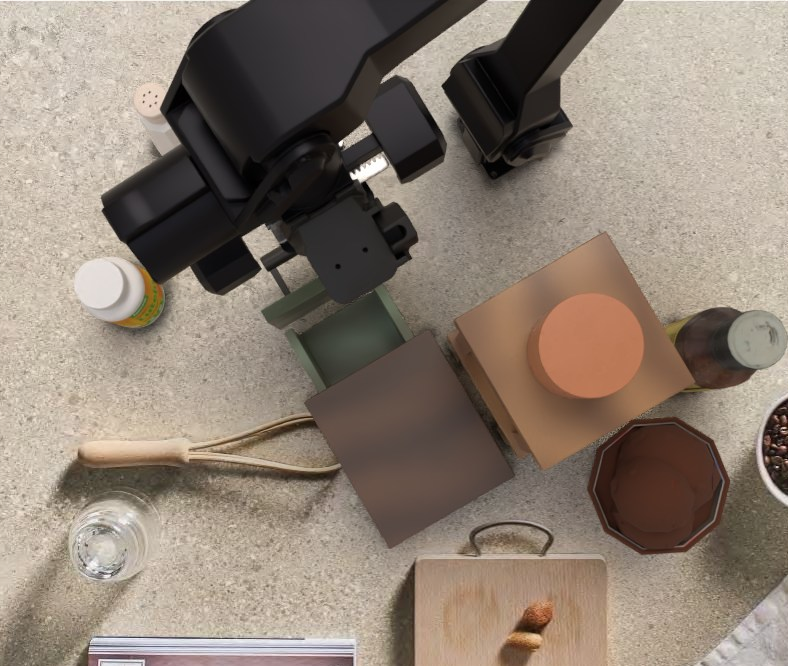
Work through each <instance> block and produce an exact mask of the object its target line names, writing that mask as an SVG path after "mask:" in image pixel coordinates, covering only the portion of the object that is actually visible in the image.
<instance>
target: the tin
mask: <svg viewBox="0 0 788 666" xmlns="http://www.w3.org/2000/svg"><path fill="white" fill-rule="evenodd" d="M643 354H644V337H643V332H642V329H641V326H640V324H639V322H638V320H637V318H636V317H635V315H634V314H633V312H632V311H631V310H630V309H629V308H628V307H627V306H626V305H624V304H623V303H622V302H620V301H619V300H617V299H615V298H613V297H611V296H608V295H605V294H600V293H582V294H578V295H574V296H572V297H569V298H567V299H565V300H564V301H562V302H561V303H559V304H558V305H556V306H555V307H553V308H552V309H550V310H549V311H547V312H546V313H545V314H544V315H542V316H541V317H540V318H539V320H538V321H537V322H536V323H535V325H534V326H533V328H532V330H531V332H530V335H529V338H528V343H527V358H528V363H529V366H530V369H531V371H532V373H533V375H534V377H535V378H536V380H537V381H538V382H539V383H540V384H541V385H542V386H543V387H544V388H545V389H547V390H548V391H550V392H551V393H553V394H555V395H557V396H560V397H564V398H569V399H587V398H600V397H605V396H608V395H611V394H613V393H615V392H617V391H619V390H620V389H622V388H623V387H625V386H626V385H627V384H628V383H629V382H630V381H631V380H632V379H633V377H634V376H635V374H636V373H637V371H638V369H639V367H640V365H641V362H642V359H643Z"/></svg>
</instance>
